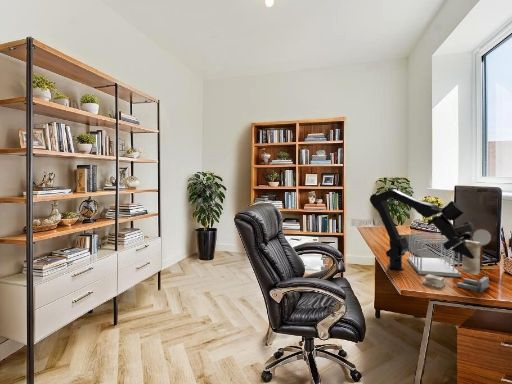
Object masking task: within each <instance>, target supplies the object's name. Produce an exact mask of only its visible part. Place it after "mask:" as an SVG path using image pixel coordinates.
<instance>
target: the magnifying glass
mask: <svg viewBox="0 0 512 384" xmlns="http://www.w3.org/2000/svg"><path fill="white" fill-rule="evenodd" d="M471 233H472V234H473V235H474V236H473V237H471V238H472V240H471V241H476V242H481V247H480V269H482V268H483V252H484V246H488V245H489V244H490V243H491V242H492V240H493V236H492V233H491V232H490V231H489V230H488V229H486V228H481V227H480V228H476V229H475V230H474V231H472V232H471ZM480 269H479V270H480Z"/></svg>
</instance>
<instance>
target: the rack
mask: <svg viewBox="0 0 512 384" xmlns="http://www.w3.org/2000/svg"><path fill="white" fill-rule="evenodd" d="M462 281H463V282H460V281H459V282H458V281H457V282H456V287H458V288H461V289H462V288H463V289H465V290H469V289H470V291H474V292H477V293H483V292H484V291H485V290H487V289H488V288H489V282H490V280H489V277H488V276H483V277H482V278H480V279H479V280H475V279H471V278H466V277H464V278H463V279H462Z"/></svg>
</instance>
